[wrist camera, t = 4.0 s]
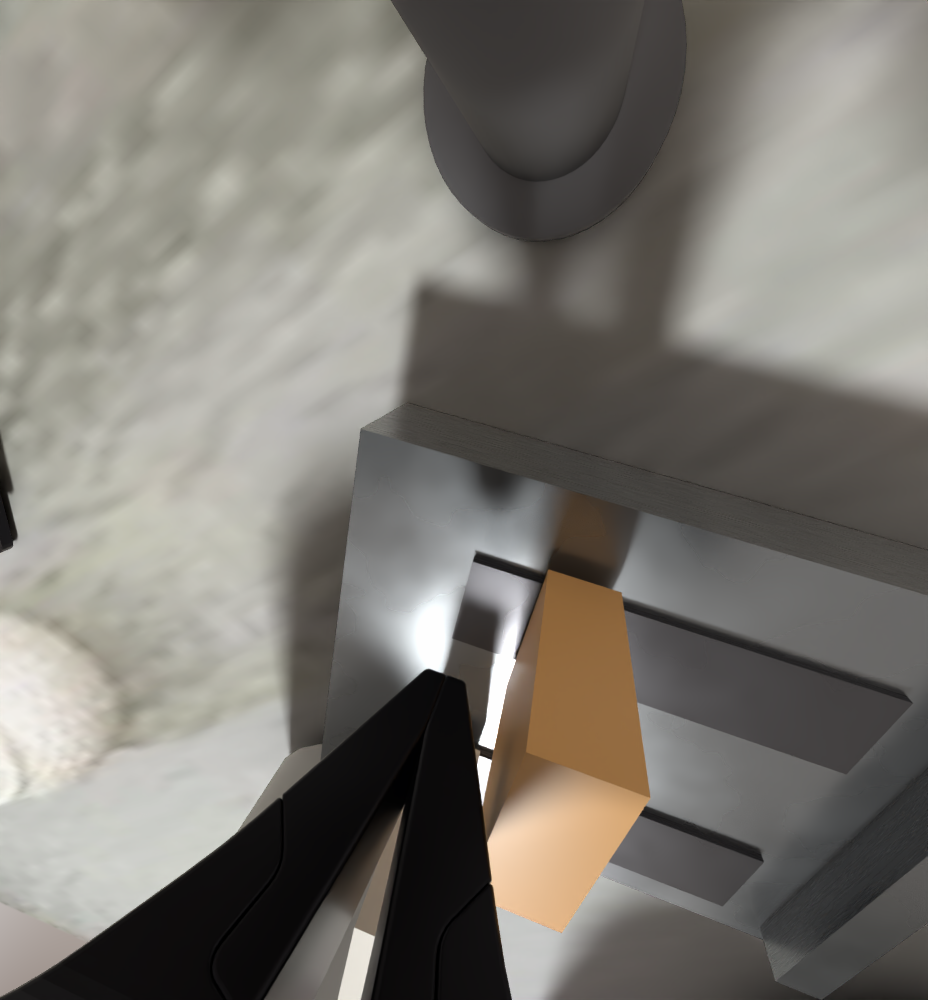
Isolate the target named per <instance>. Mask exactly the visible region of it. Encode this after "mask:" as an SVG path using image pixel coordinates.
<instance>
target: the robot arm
mask: <svg viewBox="0 0 928 1000" xmlns="http://www.w3.org/2000/svg"><path fill="white" fill-rule="evenodd" d="M12 547H13V540H12V536H11V532H10V529H9V525H8V521H7V517H6V513H5V509H4V505H3V501H2V497H1V494H0V553H1V552H3V551H6V550H8V549H10V548H12ZM403 807H404V809H403ZM402 810H403V813H402V817H401V822H400V826H399V831H398V835H397V840H396V844H395V849H394V853H393V858H392V862H391V867H390V871H389V876H388V880H387V885H386V889H385V894H384V898H383V903H382V907H381V911H380V916H379V920H378V925H377V929H376V934H375V938H374V943H373V947H372V952H371V956H370V961H369V965H368V970H367V974H366V979H365V983H364V988H363V992H362V997H361V1000H512V998H511V993H510V988H509V983H508V978H507V973H506V968H505V963H504V957H503V950H502V944H501V938H500V931H499V925H498V919H497V911H496V904H495V896H494V889H493V886H492V885H491V882H492V875H491V868H490V860H489V852H488V845H487V837H486V829H485V822H484V814H483V806H482V799H481V791H480V784H479V776H478V768H477V761H476V753H475V745H474V738H473V730H472V722H471V715H470V707H469V700H468V692H467V685H466V683H465V681H463V680H460V679H457V678H455V677H452V676H446V675H445V674H443V673H440V672H438V671H435V670H432V669H429V668H428V669H425V670H424V671H422V672H421V673H420V674H419V675H418V676H417V677H416V678H414V679H413V680H412V681H411V682H410V683H409V684H408V685H406V686H405V687H404V688H403V689H402V690H401V691H400V692H398V693H397V694H396V695H395V696H394V697H393V698H392V699H390V700H389V701H388V702H387V703H386V704H385V705H384V706H382V707H381V708H380V709H379V710H378V711H377V712H376V713H374V714H373V715H372V716H371V717H370V718H369V719H368V720H366V721H365V722H364V723H363V724H362V725H361V726H360V727H358V728H357V729H356V730H355V731H354V732H353V733H352V734H350V735H349V736H348V737H347V738H346V739H345V740H344V741H342V742H341V743H340V744H339V745H338V746H337V747H336V748H334V749H333V750H332V751H331V752H330V753H329V754H328V755H326V756H325V757H324V758H323V759H322V760H321V761H320V762H318V763H317V764H316V765H315V766H314V767H313V768H311V769H310V770H309V771H308V772H307V773H306V774H305V775H303V776H302V777H301V778H300V779H299V780H298V781H297V782H295V783H294V784H293V785H292V786H291V787H290V788H289V789H287V790H286V791H285V792H284V793H283V794H282V799H281V798H277V799H276V800H275V801H273V802H272V803H271V804H270V805H269V806H268V807H267V808H265V809H264V810H263V811H262V812H261V813H260V814H259V815H257V816H256V817H255V818H254V819H253V820H251V821H250V822H249V823H248V824H247V825H245V826H244V827H243V828H242V829H241V830H239V831H238V832H237V833H236V834H235V835H233V836H232V837H231V838H230V839H228V840H227V841H226V842H225V843H224V844H222V845H221V846H220V847H218V848H217V849H216V850H214V851H213V852H212V853H210V854H209V855H208V856H206V857H205V858H204V859H202V860H201V861H200V862H198V863H197V864H196V865H194V866H193V867H192V868H190V869H189V870H188V871H186V872H185V873H184V874H182V875H181V876H180V877H178V878H177V879H175V880H174V881H173V882H171V883H170V884H168V885H167V886H166V887H164V888H163V889H161V890H160V891H159V892H157V893H156V894H154V895H153V896H152V897H150V898H149V899H147V900H146V901H145V902H143V903H142V904H140V905H139V906H138V907H136V908H135V909H133V910H132V911H131V912H129V913H128V914H127V915H125V916H124V917H122V918H121V919H120V920H118V921H117V922H115V923H114V924H113V925H111V926H110V927H108V928H107V929H106V930H104V931H103V932H101V933H100V934H99V935H97V936H96V937H94V938H93V939H92V940H90V941H89V942H87V943H86V944H85V945H83V946H82V947H81V948H79V949H78V950H76V951H75V952H73V953H72V954H70V955H69V956H68V957H66V958H65V959H63V960H62V961H60V962H59V963H57V964H56V965H54V966H53V967H51V968H49V969H48V970H46V971H45V972H43V973H42V974H40V975H38V976H37V977H35V978H33V979H32V980H30V981H28V982H27V983H25V984H23V985H21V986H20V987H18V988H16V989H15V990H12V991H10V992H8V993H6V994H5V995H3V996H1V997H0V1000H314V999H315V996H316V994H317V992H318V990H319V988H320V986H321V984H322V981H323V979H324V977H325V975H326V973H327V971H328V969H329V966H330V964H331V962H332V960H333V958H334V956H335V954H336V951H337V949H338V947H339V945H340V943H341V941H342V938H343V936H344V934H345V932H346V930H347V928H348V926H349V923H350V921H351V919H352V917H353V915H354V913H355V911H356V908H357V906H358V904H359V902H360V900H361V898H362V896H363V893H364V891H365V889H366V887H367V885H368V883H369V880H370V878H371V876H372V874H373V872H374V870H375V868H376V865H377V863H378V861H379V859H380V857H381V855H382V853H383V850H384V848H385V846H386V844H387V842H388V840H389V838H390V835H391V833H392V831H393V829H394V827H395V825H396V823H397V820H398V818H399V816H400V814H401V812H402Z"/></svg>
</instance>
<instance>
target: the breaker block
mask: <svg viewBox="0 0 928 1000" xmlns="http://www.w3.org/2000/svg"><path fill="white" fill-rule="evenodd" d="M548 569H549V570H552V571H555V572H558V573H562V574H565V575H568V576H571V577H574V578H577V579H581V580H584V581H587V582H590V583H593V584H596V585H599V586H603V587H606V588H609V589H612V590H615V591H618V592H622V599H623V606H624V613H625V620H626V627H627V634H628V641H629V649H630V656H631V663H632V670H633V677H634V684H635V691H636V698H637V705H638V712H639V719H640V727H641V734H642V741H643V748H644V755H645V762H646V769H647V776H648V783H649V790H650V800H649V801H648V803H647V804H646V806H645V807H644V809H643V810H642V812H641V813H640V815H639V816H638V818H637V819H636V821H635V822H634V824H633V826H632V827H631V829H630V830H629V832H628V833H627V835H626V836H625V838H624V839H623V841H622V842H621V844H620V845H619V847H618V848H617V850H616V851H615V853H614V854H613V856H612V857H611V859H610V860H609V862H608V863H607V865H606V867H605V868H604V870H603V871H602V873H601V874H600V876H603V877H605V878H608V879H610V880H613V881H615V882H618V883H620V884H623V885H625V886H628V887H631V888H633V889H636V890H638V891H641V892H643V893H646V894H648V895H651V896H653V897H656V898H658V899H661V900H663V901H666V902H669V903H671V904H674V905H676V906H679V907H681V908H684V909H686V910H689V911H691V912H694V913H696V914H699V915H701V916H704V917H707V918H709V919H712V920H714V921H717V922H719V923H722V924H724V925H727V926H729V927H732V928H734V929H737V930H740V931H742V932H745V933H747V934H750V935H752V936H755V937H757V938H760V939H762V940H764V944H765V947H766V951H767V954H768V958H769V961H770V965H771V968H772V972H773V975H774V979H775V982H778V983H780V984H783V985H785V986H788V987H790V988H793V989H795V990H797V991H800V992H802V993H805V994H807V995H810V996H812V997H815V998H817V999H820V1000H822V999H824V998H825V997H826V996H828V995H829V994H831V993H832V992H833V991H835V990H836V989H837V988H839V987H840V986H842V985H843V984H844V983H846V982H847V981H849V980H850V979H851V978H853V977H854V976H855V975H857V974H858V973H860V972H861V971H862V970H864V969H865V968H866V967H868V966H869V965H871V964H872V963H873V962H875V961H876V960H877V959H879V958H880V957H882V956H883V955H884V954H886V953H887V952H888V951H890V950H891V949H893V948H894V947H895V946H897V945H898V944H899V943H901V942H902V941H904V940H905V939H906V938H908V937H909V936H911V935H912V934H913V933H915V932H916V931H917V930H919V929H920V928H922V927H923V926H924V925H926V924H927V923H928V550H925V549H921V548H918V547H914V546H911V545H907V544H904V543H900V542H897V541H893V540H890V539H886V538H883V537H879V536H876V535H872V534H868V533H865V532H861V531H858V530H854V529H851V528H847V527H844V526H840V525H837V524H833V523H830V522H826V521H823V520H819V519H816V518H812V517H808V516H805V515H801V514H798V513H794V512H791V511H787V510H784V509H780V508H777V507H773V506H770V505H766V504H763V503H759V502H756V501H752V500H748V499H745V498H741V497H738V496H734V495H731V494H727V493H724V492H720V491H717V490H713V489H710V488H706V487H703V486H699V485H695V484H692V483H688V482H685V481H681V480H678V479H674V478H671V477H667V476H664V475H660V474H657V473H653V472H650V471H646V470H643V469H639V468H635V467H632V466H628V465H625V464H621V463H618V462H614V461H611V460H607V459H604V458H600V457H597V456H593V455H590V454H586V453H583V452H579V451H575V450H572V449H568V448H565V447H561V446H558V445H554V444H551V443H547V442H544V441H540V440H537V439H533V438H530V437H526V436H522V435H519V434H515V433H512V432H508V431H505V430H501V429H498V428H494V427H491V426H487V425H484V424H480V423H477V422H473V421H470V420H466V419H462V418H459V417H455V416H452V415H448V414H445V413H441V412H438V411H434V410H431V409H427V408H424V407H420V406H417V405H413V404H410V403H406V404H404V405H402V406H400V407H398V408H397V409H395V410H393V411H391V412H390V413H388V414H386V415H384V416H383V417H381V418H379V419H377V420H375V421H374V422H372V423H370V424H368V425H367V426H365V427H363V428H361V431H360V440H359V448H358V456H357V464H356V472H355V480H354V489H353V497H352V505H351V513H350V521H349V529H348V538H347V546H346V554H345V562H344V570H343V578H342V587H341V595H340V603H339V611H338V619H337V627H336V636H335V644H334V652H333V660H332V668H331V676H330V685H329V693H328V701H327V709H326V717H325V726H324V734H323V742H322V750H321V758H320V761H321V760H322V759H323V758H324V757H325V756H326V755H328V754H329V753H330V752H331V751H332V750H333V749H334V748H336V747H337V746H338V745H339V744H340V743H341V742H342V741H344V740H345V739H346V738H347V737H348V736H349V735H350V734H352V733H353V732H354V731H355V730H356V729H357V728H358V727H360V726H361V725H362V724H363V723H364V722H365V721H366V720H368V719H369V718H370V717H371V716H372V715H373V714H374V713H376V712H377V711H378V710H379V709H380V708H381V707H382V706H384V705H385V704H386V703H387V702H388V701H389V700H390V699H392V698H393V697H394V696H395V695H396V694H397V693H398V692H400V691H401V690H402V689H403V688H404V687H405V686H406V685H408V684H409V683H410V682H411V681H412V680H413V679H414V678H416V677H417V676H418V675H419V674H420V673H421V672H422V671H424V670H425V669H428V668H429V669H432V670H435V671H438V672H440V673H443V674H445V675H446V676H452V677H455V678H457V679H460V680H463V681H465V683H466V685H467V692H468V700H469V707H470V715H471V722H472V730H473V738H474V745H475V749H477V750H479V751H480V755H479V760H478V764H477V768H478V776H479V784H480V791H481V799H482V806H483V802H484V797H485V792H486V787H487V782H488V776H489V771H490V766H491V761H492V756H493V751H494V746H495V741H496V736H497V730H498V725H499V720H500V715H501V710H502V705H503V700H504V695H505V690H506V685H507V682H508V680H509V677H510V674H511V671H512V668H513V666H514V663H515V660H516V657H517V655H518V652H519V649H520V646H521V644H522V641H523V638H524V635H525V633H526V630H527V627H528V624H529V622H530V619H531V616H532V613H533V611H534V608H535V605H536V602H537V600H538V597H539V594H540V591H541V588H542V586H543V583H544V580H545V577H546V575H547V572H548Z"/></svg>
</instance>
